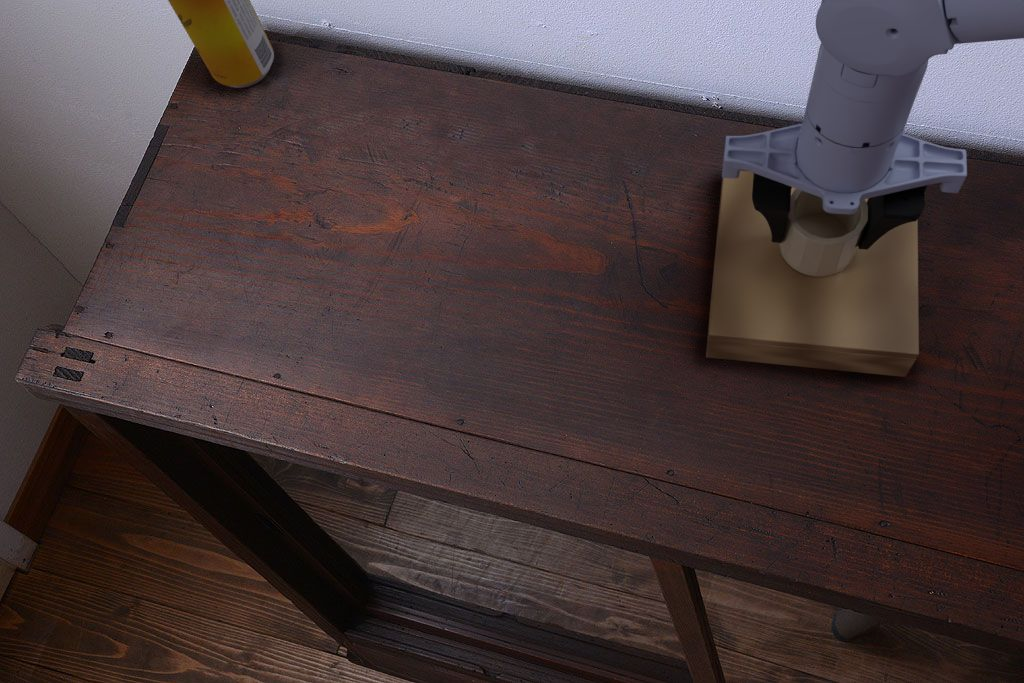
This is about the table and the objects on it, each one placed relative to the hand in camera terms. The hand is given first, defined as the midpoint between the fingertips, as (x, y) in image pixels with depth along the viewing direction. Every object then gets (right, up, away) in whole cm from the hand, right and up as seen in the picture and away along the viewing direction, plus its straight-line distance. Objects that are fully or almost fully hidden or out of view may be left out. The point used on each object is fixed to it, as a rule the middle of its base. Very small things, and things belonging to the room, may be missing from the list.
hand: (819, 234), depth 69 cm
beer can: (-46, +18, +21) cm, 54 cm away
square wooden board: (+1, -2, +5) cm, 5 cm away
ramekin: (0, -1, +1) cm, 1 cm away
